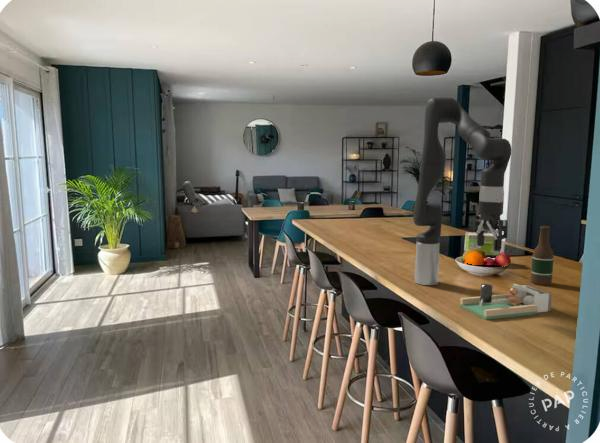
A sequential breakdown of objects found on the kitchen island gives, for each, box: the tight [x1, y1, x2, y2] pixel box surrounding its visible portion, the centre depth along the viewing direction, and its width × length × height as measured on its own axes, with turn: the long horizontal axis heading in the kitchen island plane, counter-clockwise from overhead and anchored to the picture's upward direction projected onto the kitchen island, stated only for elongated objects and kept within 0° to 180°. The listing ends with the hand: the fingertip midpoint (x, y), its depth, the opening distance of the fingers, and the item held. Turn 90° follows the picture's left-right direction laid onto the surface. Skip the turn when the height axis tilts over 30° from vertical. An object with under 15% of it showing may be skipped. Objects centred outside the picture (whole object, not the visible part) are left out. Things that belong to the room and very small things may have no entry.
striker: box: [479, 283, 521, 306], centre depth 161 cm, size 5×14×8 cm, turn 106°
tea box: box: [463, 231, 501, 258], centre depth 231 cm, size 15×10×15 cm, turn 81°
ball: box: [522, 296, 534, 305], centre depth 165 cm, size 4×4×4 cm
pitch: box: [459, 293, 538, 321], centre depth 161 cm, size 14×20×3 cm
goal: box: [512, 283, 553, 313], centre depth 165 cm, size 11×6×7 cm, turn 16°
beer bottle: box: [530, 225, 555, 287], centre depth 194 cm, size 8×8×24 cm
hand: (488, 248), depth 157 cm, fingers open, 8 cm apart
